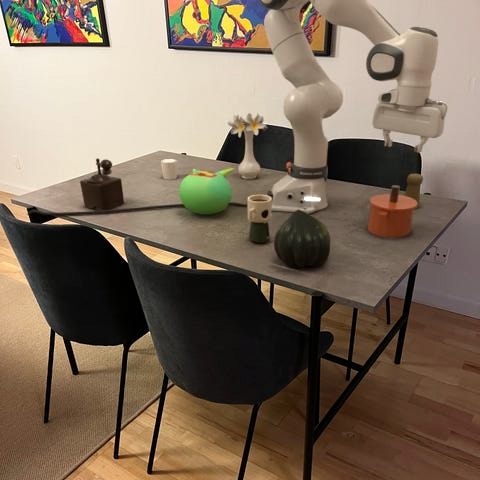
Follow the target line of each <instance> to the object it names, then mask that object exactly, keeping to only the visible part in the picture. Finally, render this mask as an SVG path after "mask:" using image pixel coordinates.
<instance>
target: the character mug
mask: <svg viewBox="0 0 480 480" xmlns="http://www.w3.org/2000/svg"><path fill="white" fill-rule="evenodd" d="M247 204H248V207H247V220H248V221H250V225H249V234H248V239H249V240H250V241H251V242H255V243H266V242H268V240H270V238H271V237H270V227H269V223H268V222H270V221H271V220H272V217H273V214H272V210H271V208H272V198H271V197H270V196H267V194H252V195H249V196H248V197H247Z"/></svg>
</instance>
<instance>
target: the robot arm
mask: <svg viewBox="0 0 480 480" xmlns="http://www.w3.org/2000/svg"><path fill="white" fill-rule="evenodd" d="M258 2H259V4H260V5H261V6H262V7H263V8H265V9H268V10H269V11H268V12H267V13H266V14H265V16H264V20H263V26H264V30H265V34H266V38H267V41H268V44H269V48H270V49H271V52H272V54H273V57H274V58H275V62H276V63H277V66H278V69H279V70H280V72H281V75H282V77H283V78H284V79H285V80H287V81H288V82H289V83H291V85H292V86H293V87H294V89H292V90H291V91H290V92H288V93H287V95H286V96H285V98H284V100H283V102H282V103H283V105H282V108H283V109H282V110H283V114H284V116H285V118H286V120H287V121H288V122H289V124H290V126H291V129H292V134H293V139H294V140H293V141H294V149H293V150H294V151H293V152H294V154H293V163H292V162H291V161H289V162H287V163H286V169H287V174H286V175H285V176H284V177H283V178H281V179H279V180H278V181H277V182H275V183H274V184H273V186H272V189H271V190H267V191H266V193H267V194H266V195H267V196H270V197H271V198H272V208H271V211H276V212H287V213H288V212H289V213H294V212H295V211H297V210H298V209H299V210H301V211H304V212H306V213H307V214H313V213H314V212H316V211H321V210H325V208H327V207H328V205H329V204H328V198H327V187H326V185H327V184H326V182H327V180H328V170H329V168H328V164H327V163H328V149H329V140H328V138H327V137H326V136H325V134H324V129H323V127H324V126H323V120H324V119H328V118H330V117H332V116H333V115H334V114H336V113H337V112H338V111H339V110H340V109H341V108H342V105H343V103H344V94H343V91H342V88H341V87H340V86H339V85H338V84H336V83H335V82H334V81H332V79H331V78H330V77H329V75H328V74H327V73H326V71H325V70H324V69H323V67H322V66H321V65H320V63H319V62H318V60H317V58H316V57H315V54H314V52H313V50H312V48H311V45H310V43H309V41H308V38H307V36H306V34H305V31H304V29H303V27H302V25H301V21H300V14H302V13H303V14H304V13H306V12H307V11H308V10H309V7H310V5H312V6H313V7H314V9H315V10H316V12H318V14H319V15H320V16H321V17H322V18H324V19H325V21H327V22H329V23H330V24H332V25H333V26H339V27H345V28H349V29H352V30H354V31H358V32H359V33H361V34H362V35H364V36H365V37H366V38H367V39H368V40H369V42H370V43H371V44H373V46H372V47H371V49H370V50H369V52H368V54H367V57H366V60H365V68H366V71H367V74H368V75H369V77H370V78H371V79H372V80H374V81H377V82H388V81H395V80H396V82H397V83H396V84H397V85H396V88H395V89H391V90H389V91H385V92H381V93H379V94H378V97H377V100H378V103H377V104H376V105H375V108H374V111H373V116H372V124H371V125H372V127H373V128H374V129H377V130H382V136H383V139H384V145H383V146H384V147H387V148H391V147H392V146H393V142H394V141H393V139H391V136H390V134H391V133H392V132H394V133H399V134H400V133H401V134H407V135H412V136H418V137H420V138H419V140H420V143H419V144H415V146H414V150H413V152H414V153H417V154H420V153H422V152H423V147H424V146H425V144H426V143H427V142H428V141H429V139H437V138H439V137H440V136H442V134H443V133H444V129H445V117H446V116H447V111H448V106H447V104H446V103H445V102H444V100H441V99H439V100H437V99H432V98H430V94H431V89H432V76H433V73H434V70H435V68H436V63H437V58H438V51H439V50H438V49H439V35H438V33H437V32H436V31H435V30H433V29H431V28H427V27H421V26H412V27H409V28H408V29H407V30H406V31H405V32H403V33H400V32H398V31H397V30H396V29H395V28H394V27H393V25H392V24H391V23H389V21H388V20H387V19H386V18H385V17H384V16H383V15H382V14H381V13H380V12H379V11H378V9H376V8H375V6H373V5H372V4H371V2H370V1H369V0H258ZM228 206H235V207H237V206H238V207H242V208H243V207H244V208H248V203H240V202H233V201H230V203H229V204H228ZM184 207H185V206H184V205H183V203H174V204H173V203H172V204H161V205H151V206H150V205H149V206H139V207H128V208H118V209H117V208H114V209H111V210H102V211H100V210H89V211H88V210H87V211H66V212H64V211H63V212H46V211H42V210H38V209H31V210H29V211H28V212H27V214H26V216H31V215H32V214H34V213H35V214H39V215H41V216H49V217H51V216H54V217H55V216H83V215H84V216H85V215H98V214H99V215H100V214H111V213H124V212H133V211H145V210H146V211H147V210H158V209H169V208H184ZM185 208H186V207H185Z"/></svg>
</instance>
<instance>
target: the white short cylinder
mask: <svg viewBox="0 0 480 480" xmlns="http://www.w3.org/2000/svg"><path fill="white" fill-rule="evenodd" d="M160 165H161V172H162V176H163V179H164V180H169V181H170V180H175V179H177V178H178V160H177V159H176V158H165V159H161V160H160Z"/></svg>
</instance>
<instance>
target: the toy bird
mask: <svg viewBox="0 0 480 480" xmlns="http://www.w3.org/2000/svg"><path fill="white" fill-rule="evenodd" d="M234 171H235V168H233V167H231V168H226V169H223V170H219V171H216V172H215V171H210V170H209V171H208V170H198V169H196V168H193V169H192V172H191V173H190V174H188V175H187V176H185V177H184V178H183V180H181V182H180V185H179V187H178V188H179V189H178V197H179V199H180V202H181V204H183V205H184V206H185V208H186V209H188V210H189V211H190V212H193V213H195V214H200V215H213V214H217V213H221V212H222V211H223V210H225V209H226V208H227V207H228V206H229V205H228V204H229V203H230V202H232V201H231V200H232V197H233V190H232V185H231V184H230V181H228V179H227V178H226V177H228V176H229V175H230V174H232V173H233V172H234Z"/></svg>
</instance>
